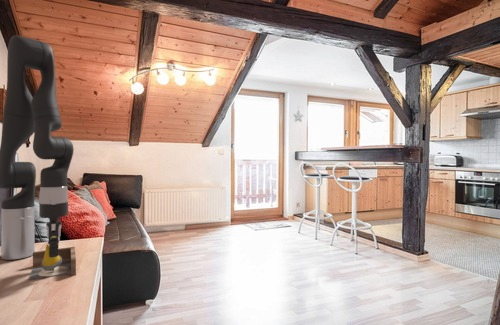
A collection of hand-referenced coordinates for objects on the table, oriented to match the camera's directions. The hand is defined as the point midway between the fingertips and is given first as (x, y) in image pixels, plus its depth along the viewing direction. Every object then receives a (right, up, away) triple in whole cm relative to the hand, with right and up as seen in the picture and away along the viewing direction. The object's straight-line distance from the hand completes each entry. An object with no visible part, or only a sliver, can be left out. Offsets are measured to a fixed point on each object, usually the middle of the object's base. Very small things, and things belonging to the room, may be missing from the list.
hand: (54, 252), depth 94 cm
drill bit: (0, -6, 0) cm, 6 cm away
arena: (-1, -6, +1) cm, 6 cm away
